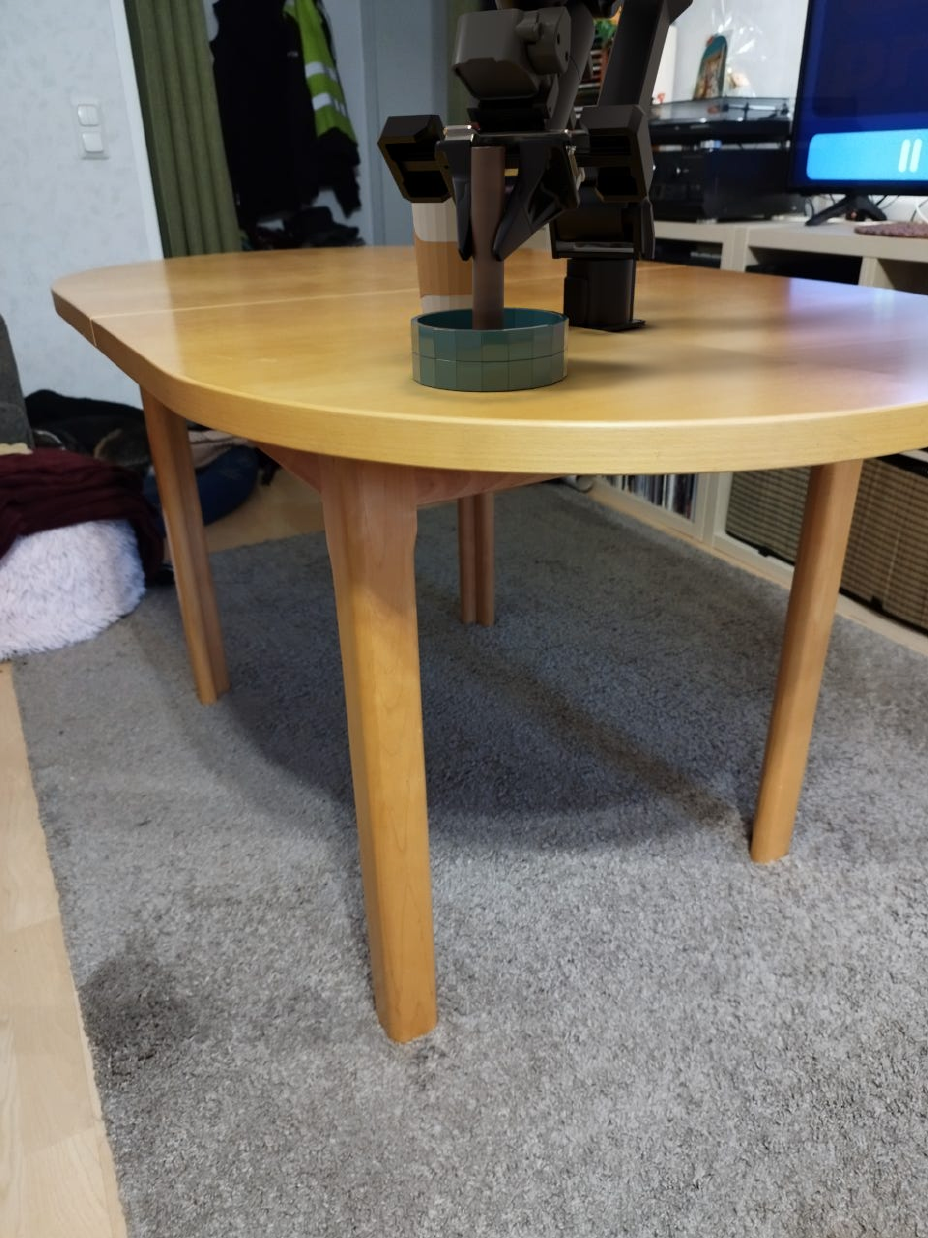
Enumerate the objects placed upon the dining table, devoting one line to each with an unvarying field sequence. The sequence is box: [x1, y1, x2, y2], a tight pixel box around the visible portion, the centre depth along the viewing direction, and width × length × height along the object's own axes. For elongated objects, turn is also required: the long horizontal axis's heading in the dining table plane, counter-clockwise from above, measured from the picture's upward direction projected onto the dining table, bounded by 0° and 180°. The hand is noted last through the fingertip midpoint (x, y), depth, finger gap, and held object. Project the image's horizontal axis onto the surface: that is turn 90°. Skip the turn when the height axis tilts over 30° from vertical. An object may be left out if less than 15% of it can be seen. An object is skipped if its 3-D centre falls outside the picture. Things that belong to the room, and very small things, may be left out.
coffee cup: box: [411, 197, 472, 314], centre depth 82 cm, size 8×8×15 cm
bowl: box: [410, 306, 569, 392], centre depth 63 cm, size 11×11×4 cm
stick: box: [471, 146, 506, 330], centre depth 61 cm, size 4×4×14 cm
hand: (479, 256), depth 59 cm, fingers closed on stick, 2 cm apart
